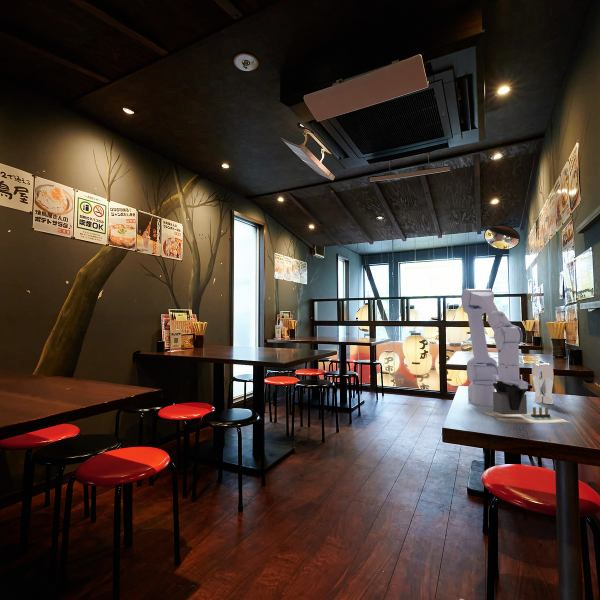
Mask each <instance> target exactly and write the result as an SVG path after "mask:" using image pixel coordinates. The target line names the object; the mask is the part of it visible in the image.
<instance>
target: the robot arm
mask: <svg viewBox="0 0 600 600" xmlns="http://www.w3.org/2000/svg"><path fill="white" fill-rule="evenodd" d="M494 294H495V293H494V291H493V290H492V289H491V288H464V290H463V291H462V292H461V298H460V299H461V306H462V311H463V312H464V313H466V314H467V319H468V328H469V332H470V339H471V340H470V341H471V347H472V353H473V356H472V357H471V358H470V359H468V360H467V362H466V377H467V379H468V380H469V382H470V383H469V385H468V386H467V387H468V388H467V402H468V404H473V405H477V406H481V407H493V392H507V393H508V396H509V400H510V407H511V410H519V407H520V403H521V400H522V398H523V396H524V394H526V392H527V390H528V389H529V384H528V383H529V382H527V381H525V380H522V379H520V355H519V353H520V352H519V350H520V349H519V345H520V344H521V343H522V341H523V332H522V329H521V328H520V326H517V325H515V324H513V323H511V321H510V320H509V318H508V317H507V315H506V314H505V313H504V312H503V311H499V309H498V308H497V306H496V304H495V302H494V299H495V295H494ZM483 314H486V315H487V317H486V321H487V322H488V325H489V327H490V328H491V329H492V331H493V332H494V333H493V340H494V342H495V348H496V350H497V360H496V359H494V358H493V357H491V356H489V351H488V350H489V349H488V344H487V338H486V333H485V332H486V331H485V325H484V321H483ZM497 361H498V363H497Z"/></svg>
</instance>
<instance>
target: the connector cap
mask: <svg viewBox="0 0 600 600" xmlns="http://www.w3.org/2000/svg"><path fill="white" fill-rule="evenodd" d="M527 406H528V403H527V394H526V393H525V394H524V396H523V398H522V400H521V403H520V407H519V410H511V407H510V400H509V396H508V393H507V392H497V391H495V392H493V406H492V407H493V412H497V413H500V414H502V415H503V414H527V412H528V409H527V408H528V407H527Z"/></svg>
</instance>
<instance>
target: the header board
mask: <svg viewBox="0 0 600 600" xmlns="http://www.w3.org/2000/svg"><path fill="white" fill-rule="evenodd" d="M485 414H486V415H487V416H490V417H493V419H497V420H499V421H501V422H504V423H506V424H542V423H543V424H546V423H547V424H549V423H553V424H554V423H570V421H569V420H566V419H563V418H560V417H559V416H555V415H552V414H550V413H549V407H547V406H545V407H544V411H543V407H541V406H539V407H538V411H537V407H536V406H532V411H527V414H503V415H502V414H500V413H497V412H495V411H493V412H485Z"/></svg>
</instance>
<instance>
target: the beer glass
mask: <svg viewBox="0 0 600 600" xmlns="http://www.w3.org/2000/svg"><path fill="white" fill-rule="evenodd" d="M554 378H555V377H554V367H553V364H552V363H547V362H545V363H543V362H532V364H531V379H532V383H533V387H534V392H535V394H534V400H533V401H534V403H535V402H536V404H539V403H540V404H539V405H547V404H551V405H554V400H553V397H552V395H553V393H552V392H553V386H554Z"/></svg>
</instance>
